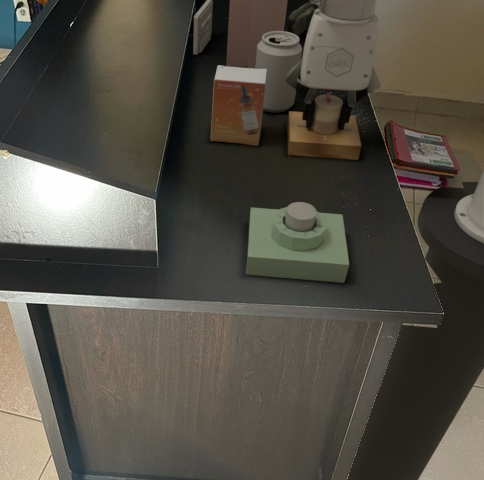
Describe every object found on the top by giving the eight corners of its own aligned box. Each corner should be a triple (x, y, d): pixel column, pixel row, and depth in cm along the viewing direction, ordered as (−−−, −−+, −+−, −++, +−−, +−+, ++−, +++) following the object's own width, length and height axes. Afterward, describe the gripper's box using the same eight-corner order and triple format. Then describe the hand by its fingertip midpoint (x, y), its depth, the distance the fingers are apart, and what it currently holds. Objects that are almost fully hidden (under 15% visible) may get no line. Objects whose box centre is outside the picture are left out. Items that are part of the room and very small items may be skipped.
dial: (338, 135, 91) (344, 106, 88) (310, 133, 91) (315, 104, 88) (336, 121, 94) (342, 93, 91) (309, 120, 94) (314, 91, 91)
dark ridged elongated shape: (305, -1, 131) (283, 18, 121) (318, 1, 130) (296, 20, 120) (301, 22, 134) (280, 42, 124) (314, 24, 134) (293, 45, 123)
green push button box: (338, 232, 77) (345, 201, 74) (344, 283, 70) (353, 251, 66) (248, 225, 78) (252, 194, 74) (245, 274, 71) (249, 243, 67)
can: (247, 96, 106) (253, 29, 97) (286, 94, 107) (295, 27, 98) (257, 116, 100) (265, 46, 92) (299, 113, 101) (309, 44, 93)
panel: (352, 129, 98) (355, 114, 96) (358, 160, 90) (361, 145, 89) (287, 124, 98) (289, 110, 97) (287, 155, 91) (290, 140, 89)
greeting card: (278, 61, 117) (287, -19, 107) (291, 76, 112) (303, -7, 102) (224, 66, 115) (229, -15, 105) (236, 82, 110) (242, -2, 100)
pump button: (313, 216, 72) (316, 202, 70) (314, 234, 69) (317, 220, 68) (284, 214, 72) (286, 200, 71) (284, 231, 70) (286, 218, 68)
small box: (209, 142, 94) (212, 79, 86) (213, 125, 98) (216, 63, 90) (259, 146, 93) (266, 83, 86) (261, 129, 97) (267, 67, 90)
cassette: (199, 56, 119) (200, 17, 113) (190, 55, 119) (191, 16, 114) (213, 35, 127) (215, -2, 122) (205, 34, 127) (206, -3, 122)
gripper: (286, 10, 78) (271, 133, 90) (414, 17, 77) (380, 140, 89) (285, -8, 83) (271, 110, 96) (405, -2, 82) (374, 117, 95)
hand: (324, 124), depth 92 cm, fingers closed on dial, 4 cm apart
